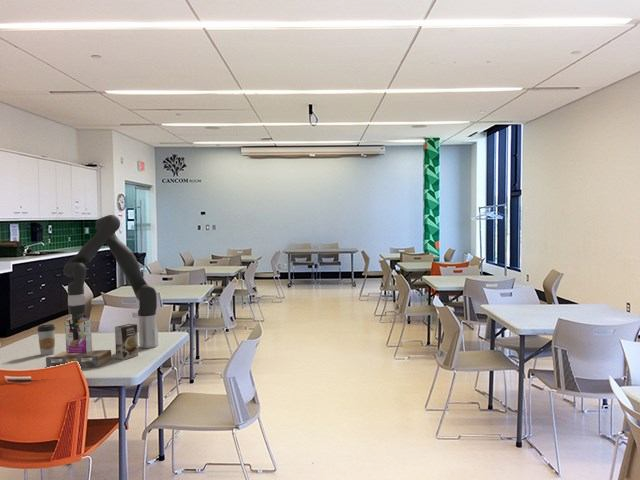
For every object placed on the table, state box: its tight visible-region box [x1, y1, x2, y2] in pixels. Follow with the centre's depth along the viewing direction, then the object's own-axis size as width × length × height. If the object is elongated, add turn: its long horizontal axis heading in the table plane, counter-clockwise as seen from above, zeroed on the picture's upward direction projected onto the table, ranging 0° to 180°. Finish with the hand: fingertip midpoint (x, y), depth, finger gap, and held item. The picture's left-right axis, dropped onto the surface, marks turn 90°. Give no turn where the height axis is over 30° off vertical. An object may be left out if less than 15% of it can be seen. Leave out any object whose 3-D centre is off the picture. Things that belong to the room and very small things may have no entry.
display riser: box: [45, 349, 112, 369], centre depth 260 cm, size 24×18×6 cm
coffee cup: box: [37, 323, 56, 357], centre depth 281 cm, size 8×8×15 cm
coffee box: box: [114, 323, 139, 361], centre depth 269 cm, size 9×6×16 cm
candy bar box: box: [64, 317, 93, 354], centre depth 259 cm, size 11×5×16 cm, turn 79°
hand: (78, 338), depth 259 cm, fingers closed on candy bar box, 5 cm apart
